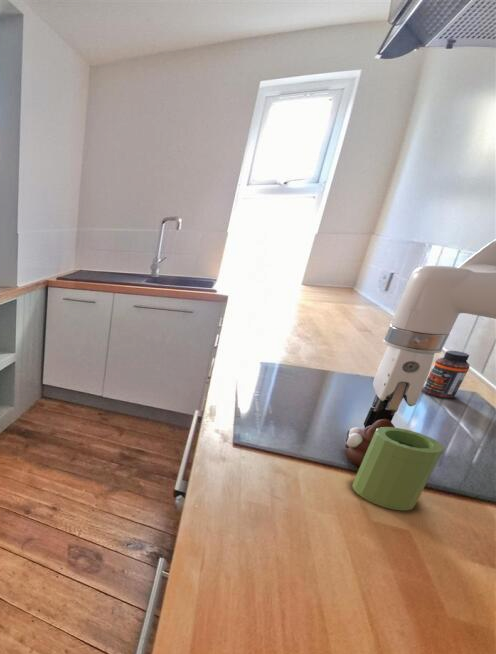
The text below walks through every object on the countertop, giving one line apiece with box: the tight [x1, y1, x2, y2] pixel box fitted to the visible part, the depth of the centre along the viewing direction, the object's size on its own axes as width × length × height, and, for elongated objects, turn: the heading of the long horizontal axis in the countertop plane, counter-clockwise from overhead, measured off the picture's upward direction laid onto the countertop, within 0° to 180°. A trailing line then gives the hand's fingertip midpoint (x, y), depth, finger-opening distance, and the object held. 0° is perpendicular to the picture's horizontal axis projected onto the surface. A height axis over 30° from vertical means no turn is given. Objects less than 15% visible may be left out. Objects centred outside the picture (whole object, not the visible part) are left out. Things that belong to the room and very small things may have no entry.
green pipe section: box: [352, 426, 445, 512], centre depth 67 cm, size 8×8×11 cm
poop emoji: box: [344, 419, 396, 468], centre depth 77 cm, size 10×8×9 cm
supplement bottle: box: [422, 350, 471, 399], centre depth 104 cm, size 6×6×11 cm
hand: (374, 428), depth 80 cm, fingers closed
